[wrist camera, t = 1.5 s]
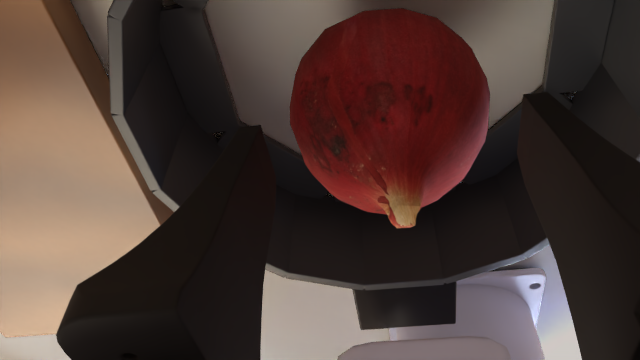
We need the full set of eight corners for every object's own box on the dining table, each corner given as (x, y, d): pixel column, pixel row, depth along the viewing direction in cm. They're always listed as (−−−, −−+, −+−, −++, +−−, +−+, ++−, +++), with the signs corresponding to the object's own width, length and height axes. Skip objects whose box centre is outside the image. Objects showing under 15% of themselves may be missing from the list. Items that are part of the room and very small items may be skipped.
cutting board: (218, 299, 30) (213, 323, 28) (16, 314, 31) (5, 338, 30) (28, -87, 16) (5, -70, 15) (-311, -28, 18) (-354, -8, 17)
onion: (266, 64, 19) (235, 232, 14) (365, -73, 16) (380, 70, 10) (392, 138, 22) (411, 310, 16) (501, 30, 18) (577, 197, 13)
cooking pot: (570, 230, 25) (605, 314, 22) (240, 258, 27) (226, 339, 24) (733, -483, 11) (908, -552, 7) (6, -312, 13) (-109, -307, 9)
